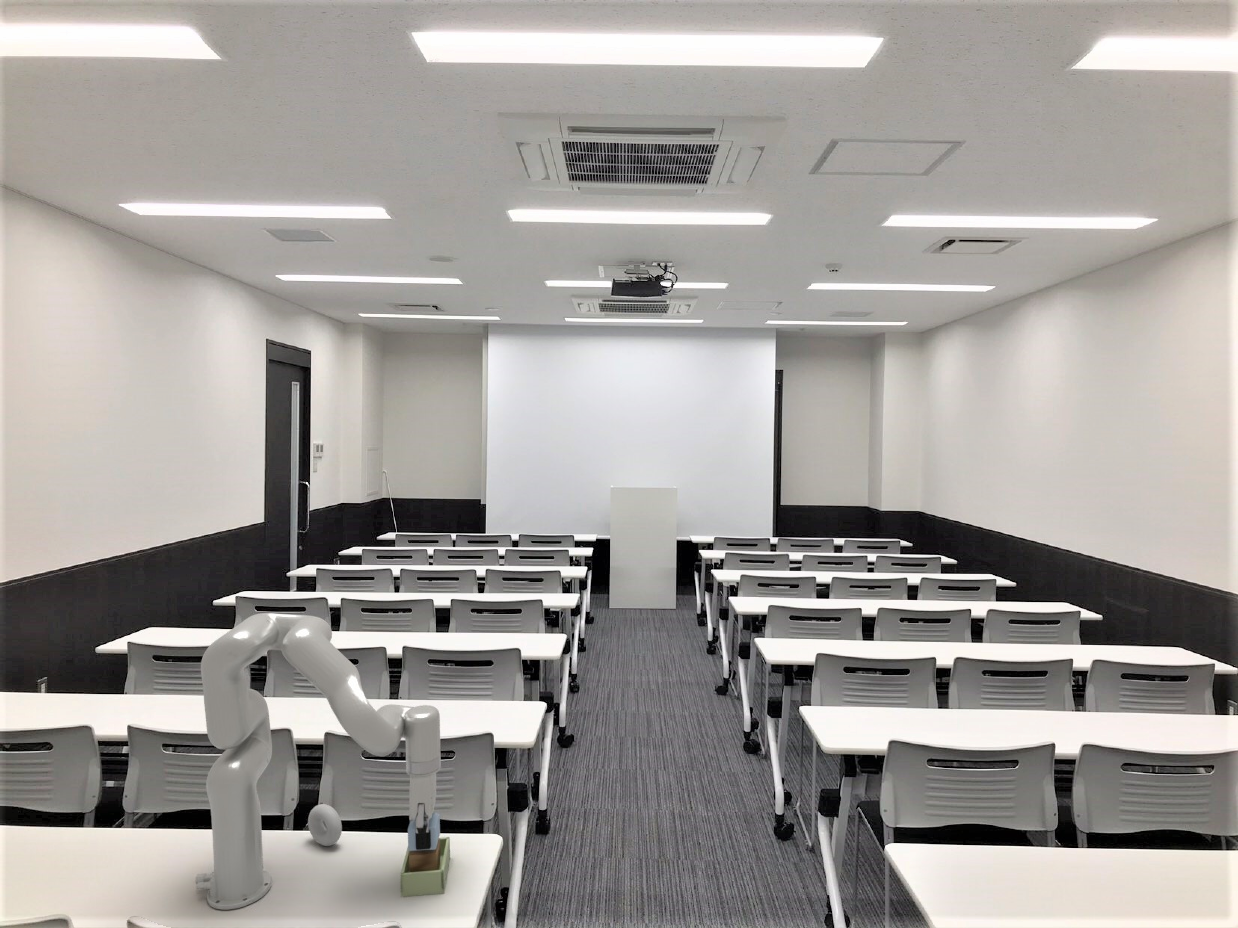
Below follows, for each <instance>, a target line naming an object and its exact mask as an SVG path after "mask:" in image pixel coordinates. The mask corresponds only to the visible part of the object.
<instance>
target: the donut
mask: <svg viewBox="0 0 1238 928" xmlns="http://www.w3.org/2000/svg"><path fill="white" fill-rule="evenodd" d="M307 824H308V825H307V826H308V831H309V832H310V835H311V837H312V838H313V840H314V841H316V842H317V844H319V845H321V846H324V847H330V846H333V845H335V844H336V843H337V842H338V841H339V840H340V838H341V835H342V831H343V825H342V820H341V816H340V815H339V814H338V812H337V810H335V808H334V807H332V806H331V805H329V804H325V803H320V804H317V805H315V806H313V808H312V809H311V810H310V812H309V814H308V819H307Z"/></svg>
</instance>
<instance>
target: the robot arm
mask: <svg viewBox="0 0 1238 928" xmlns="http://www.w3.org/2000/svg"><path fill="white" fill-rule="evenodd" d="M332 631H333V630H332V628H331V625H330V624H329V623H328V622H327V621H326V620H324V619H323V618H321V617H319V616H314V615H306V614H292V613H291V614H290V613H289V614H287V613H272V612H271V613H270V612H262V613H256V614H253V615H251V616H249V617H247V618H244V620H242V621H241V622H240V623H239V624H237V625H236V626H235V627H233V628H232V629H230V630H229V631H227V632H225V633H224V634H223V635H221V636H220V637H218V638H217V639H216V640H214V642H212V643H211V644H210V645H209V646H208V647H207V648H206V650H205V651H204V653H203V655H202V659H201V661H200V676H201V682H202V683H201V684H202V690H203V706H204V714H205V722H206V723H205V726H206V733H207V737H208V740H209V742H210V743H211V745H213V746H214V747H216V748H217V749H219V750H224V751H223V752H222V754H221V755H219V756H218V758H217V759H216V760H215V762H214V763H213V764H212V766H211V768H210V769H209V772H208V773H207V776H206V777H207V778H206V782H205V789H206V794H207V798H208V801H209V807H210V816H211V830H212V849H213V850H212V851H213V853H212V854H213V870H214V871H212V873H211V872H210V873H197V874H196V877H195V881H194V882H195V885H196V889H197V890H205V889H208V891H207V895H206V898H207V899H206V900H207V903H208V905H209V906H210V907H211V908H214V909H217V910H223V911H224V910H225V911H226V910H227V911H228V910H235V909H239V908H243V907H246V906H249V905H251V904H253V903H255V902H257V901H259V900H260V899H261V898H262V897H264V896H265V895H266V894H267V892H268V891H270V889H271V887H272V883H273V881H272V876H271V874H270V873H269V872H267V871H266V870H264V860H263V859H264V858H263V855H264V854H263V835H262V832H263V831H262V813H261V812H262V809H261V802H260V798H259V794H258V791H257V783H258V780H259V779H260V777H261V776H262V774H263V773H264V771H265V770H266V768H267V767H268V766H269V763H270V762H271V759H272V755H273V741H272V732H271V722H270V714H269V713H270V712H269V707H268V703H267V701H266V699H265V698H264V696H263V695H262V693H260V692H259V691H258V690H255V689H252V688H249V683H248V678H247V675H246V673H245V668H246V667H248V666H249V665H251V664H253V663H255V662H257V660H259V659H261V657H262V656H264V655H265V654H266V653H268V651H281V653H282V655H283V657H284V658H285V661H287V662H288V663H289V664H290V665H291V666H292V667H294V669H295V670H297V671H298V673H299V674H301V675H302V676H303V677H304V678H305V679H306V680H307V681H308V682H309V683H310V684H311V685H312V686H314V687H315V689H317V690H318V692H320V693H321V694H322V695H323V696H324V697H325V699H326V700H327V703H328V704H329V706H330V708H331V712H332V713H333V714H334V716H335V717H336V719H337V721H338V723H339V724H340V726H341V728H342V729H343V730H344V732H346V734H347V735H349V736H350V738H351V739H352V740H353V741H354V742H356V744H358V746H359V747H361V748H362V749H363V750H364V751H366V752H368V753H369V754H371V755H373V756H376V757H386V756H389V755H390V754H392V753H394V752H395V750H396V749H397V748H398V746H399V745H400V742H401V739H404V740H405V769H406V770H405V771H406V775H408V776H409V777H410V778H409V798H408V799H409V800H408V801H409V803H408V804H409V811H408V812H409V813H408V818H409V822H410V821H412V820H415V817H416V832H415V836H416V850H423V849H430V848H431V830H429V819H431V818H432V814H433V813H434V809H435V806H436V805H435V804H436V800H437V773H438V772H439V771H440V770H441V768H442V765H441V757H442V756H441V723H440V722H441V721H440V720H441V717H440V712H439V709H438V708H437V707H436V706H433V705H427V704H423V705H417V706H407V705H400V704H385V705H382V706H380V707H379V708H378V709H377V710H375V708H374V707H373V706H372V704H371V703H370V702H369V700H368V699H367V697H366V695H365V692H364V689H363V687H362V681H361V675H360V673H359V670H358V668H357V666H355V664H354V663H352V662H351V661H350V660H349V659H348V658H347V657H346V656H345V655H344V654H343V653H342V652H341V651H340V650H339V649H337V647H336V646H334V644H333V643H332V642H331V641H332V637H333V632H332ZM426 814H427V817H424V815H426ZM424 821H426V825H425V824H424Z"/></svg>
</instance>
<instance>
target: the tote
mask: <svg viewBox="0 0 1238 928" xmlns="http://www.w3.org/2000/svg"><path fill="white" fill-rule="evenodd" d="M439 838H440V868H439V870H434V871H421V872H409V854H410V851H408V847H406V852H405V856H404V860H403V864H402V867H401V871H400V874H399V875H400V876H399V877H400V879H399V880H400V882H399V883H400V897H401V898H406V897H414V896H415V897H416V896H417V897H418V896H427V895H428V896H429V895H438V894H439V895H441V894H445V890H446V884H447V880H448V879H447V877H448V871H449V867H450V859H451V848H450V847H451V845H450V844H451V841H450V840H451V839H450V836H446V837H445V836H444V837H439Z"/></svg>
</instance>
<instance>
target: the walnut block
mask: <svg viewBox="0 0 1238 928" xmlns="http://www.w3.org/2000/svg"><path fill="white" fill-rule="evenodd" d="M440 838H441V837H439V839H438V843H437V847H436V849H434V850H415V851H410V854H409V872H421V871H434V870H439V868H440Z"/></svg>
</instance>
